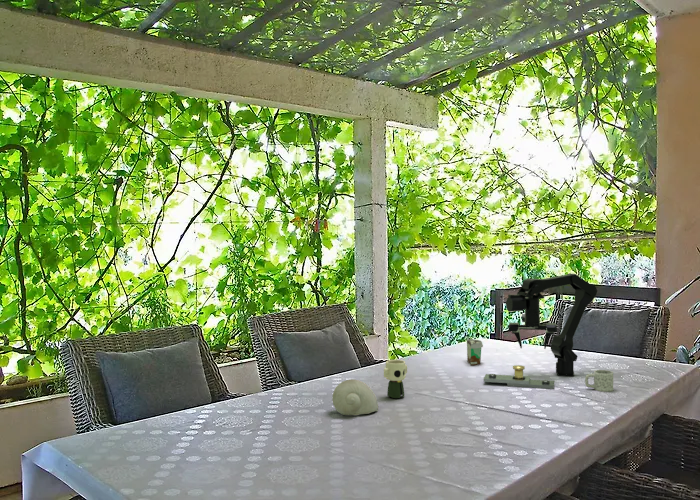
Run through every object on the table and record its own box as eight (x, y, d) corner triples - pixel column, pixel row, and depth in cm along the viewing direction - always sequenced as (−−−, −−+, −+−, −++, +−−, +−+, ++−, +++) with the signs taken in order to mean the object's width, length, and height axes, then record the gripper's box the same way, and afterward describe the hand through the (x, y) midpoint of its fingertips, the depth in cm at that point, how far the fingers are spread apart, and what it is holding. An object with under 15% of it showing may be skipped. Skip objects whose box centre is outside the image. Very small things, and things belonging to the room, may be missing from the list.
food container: (485, 366, 287) (485, 343, 287) (471, 366, 288) (471, 343, 287) (480, 360, 300) (480, 338, 299) (466, 360, 300) (466, 338, 300)
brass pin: (525, 383, 256) (525, 365, 256) (524, 386, 252) (524, 368, 252) (513, 382, 258) (513, 365, 257) (512, 385, 253) (512, 367, 253)
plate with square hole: (554, 384, 254) (554, 375, 254) (553, 389, 247) (553, 380, 247) (486, 379, 263) (486, 372, 263) (483, 384, 255) (483, 376, 255)
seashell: (333, 432, 221) (330, 404, 212) (334, 399, 232) (331, 371, 223) (379, 431, 221) (378, 403, 211) (378, 398, 231) (376, 369, 222)
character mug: (390, 402, 232) (390, 365, 232) (378, 397, 238) (377, 362, 237) (413, 396, 239) (413, 361, 238) (400, 392, 245) (400, 358, 244)
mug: (610, 387, 248) (610, 370, 248) (615, 392, 242) (615, 374, 242) (582, 387, 249) (582, 369, 249) (587, 391, 243) (587, 373, 243)
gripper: (556, 307, 271) (557, 345, 271) (509, 307, 276) (510, 344, 277) (556, 311, 260) (557, 350, 261) (507, 311, 265) (508, 349, 266)
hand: (533, 348), depth 266 cm, fingers open, 9 cm apart
